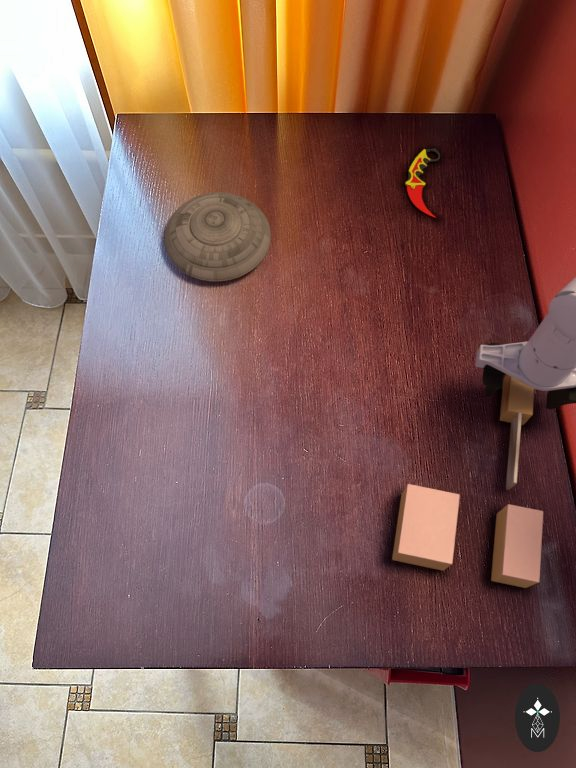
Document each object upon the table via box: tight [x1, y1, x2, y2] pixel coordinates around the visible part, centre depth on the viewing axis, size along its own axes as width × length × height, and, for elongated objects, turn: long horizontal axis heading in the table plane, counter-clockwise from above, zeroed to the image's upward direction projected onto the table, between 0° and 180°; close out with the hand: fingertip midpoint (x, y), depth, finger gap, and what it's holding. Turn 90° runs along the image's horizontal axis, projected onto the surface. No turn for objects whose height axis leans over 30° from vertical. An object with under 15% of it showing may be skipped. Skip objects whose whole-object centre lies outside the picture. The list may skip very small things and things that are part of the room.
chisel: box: [499, 374, 535, 491], centre depth 84 cm, size 15×3×4 cm, turn 168°
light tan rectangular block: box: [490, 503, 544, 589], centre depth 78 cm, size 4×8×4 cm, turn 168°
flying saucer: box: [163, 191, 272, 282], centre depth 95 cm, size 15×15×6 cm
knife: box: [404, 147, 441, 219], centre depth 102 cm, size 13×1×5 cm
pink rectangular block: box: [391, 483, 461, 572], centre depth 79 cm, size 6×8×4 cm
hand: (518, 395), depth 86 cm, fingers open, 7 cm apart
